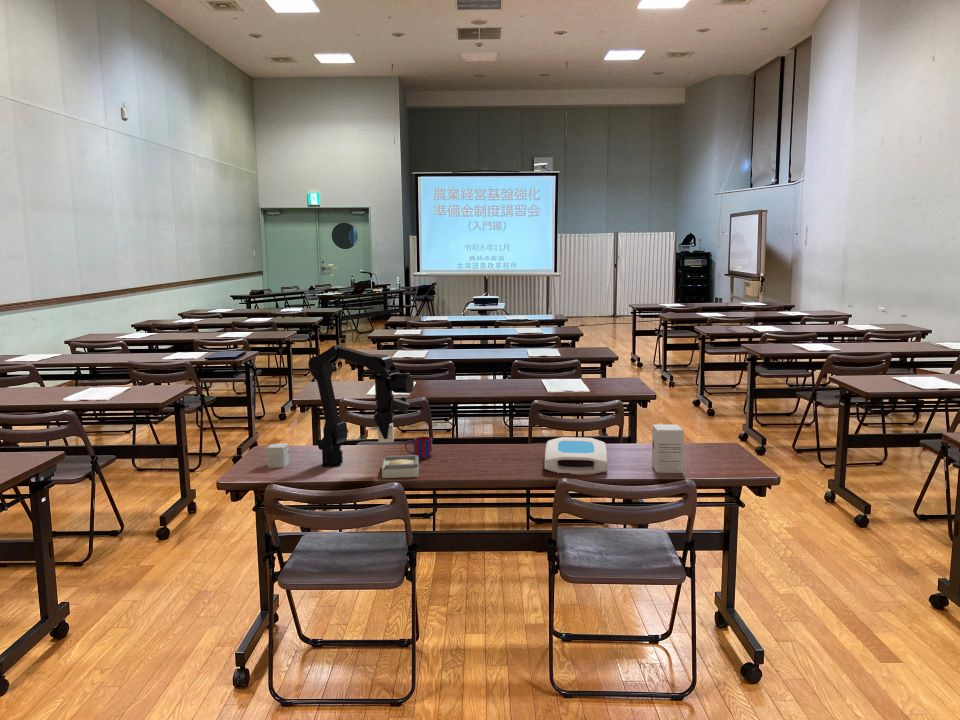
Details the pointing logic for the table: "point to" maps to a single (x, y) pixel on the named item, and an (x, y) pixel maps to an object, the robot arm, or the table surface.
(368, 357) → the robot arm
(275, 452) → the skincare box
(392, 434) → the spout can
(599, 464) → the document scanner
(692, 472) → the table surface
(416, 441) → the mug
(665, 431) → the supplement box
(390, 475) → the grey tray
